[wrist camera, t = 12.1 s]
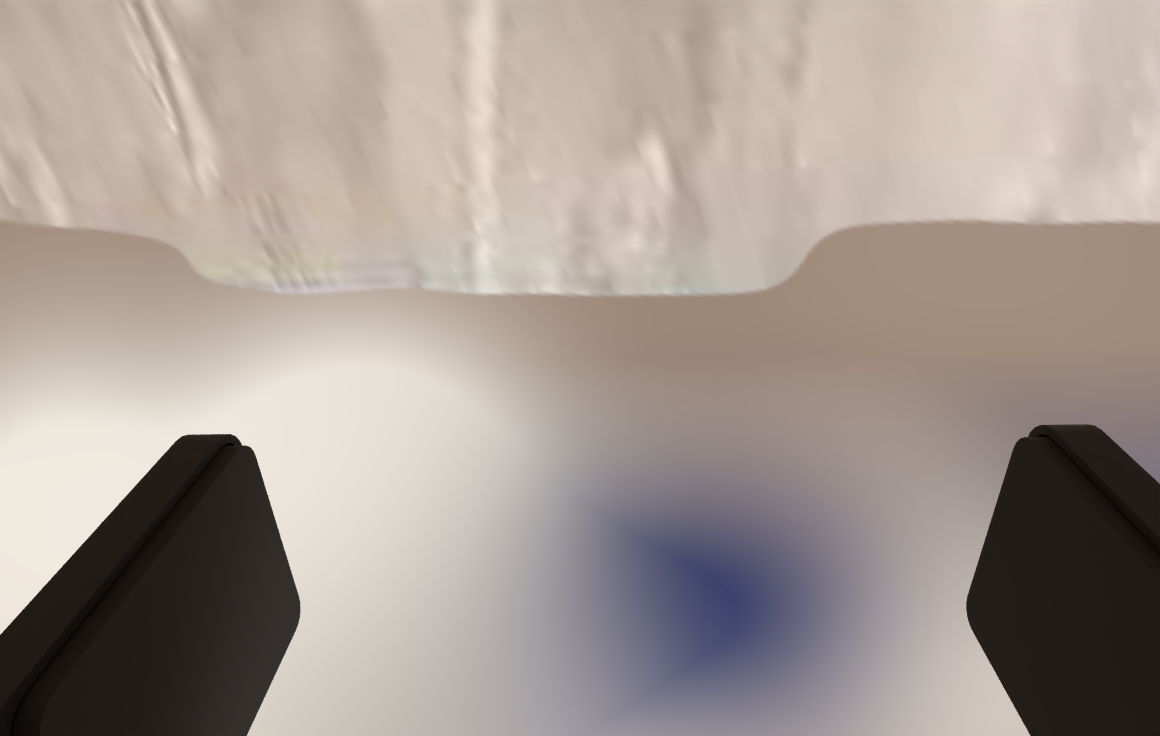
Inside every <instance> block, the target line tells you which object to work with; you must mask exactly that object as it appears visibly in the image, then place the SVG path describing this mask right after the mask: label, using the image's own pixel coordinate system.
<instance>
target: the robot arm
mask: <svg viewBox="0 0 1160 736" xmlns="http://www.w3.org/2000/svg"><path fill="white" fill-rule="evenodd" d="M966 606H967V607H966V610H967V617H968V621H969V624H970V626H971V629H972V631H973V632H974V634H975V636H976V638H977V640H978V642H979V643H980V645H981V647H982V649H983V651H984V653H985V654H986V656H987V658H988V660H989V662H990V663H991V665H992V667H993V669H994V671H995V672H996V674H997V676H998V678H999V680H1000V681H1001V683H1002V685H1003V687H1004V689H1005V690H1006V692H1007V694H1008V696H1009V697H1010V699H1011V701H1012V702H1013V705H1014V707H1015V708H1016V710H1017V712H1018V714H1019V716H1020V717H1021V719H1022V721H1023V723H1024V725H1025V726H1026V728H1027V730H1028V732H1029V734H1030V735H1031V736H1160V484H1159V483H1158V482H1157V481H1156V480H1155V479H1154V478H1153V477H1152V476H1151V475H1149V474H1148V473H1147V472H1146V471H1145V470H1144V469H1143V468H1142V467H1141V466H1140V465H1138V464H1137V463H1136V462H1135V461H1134V460H1133V459H1132V458H1131V457H1130V456H1129V455H1128V454H1127V453H1126V452H1125V451H1124V450H1122V449H1121V448H1120V447H1119V446H1118V445H1117V444H1116V443H1115V442H1114V441H1113V440H1112V439H1111V438H1110V437H1109V436H1108V435H1106V434H1105V433H1104V432H1103V431H1102V430H1101V429H1099V428H1097V427H1096V426H1093V425H1087V424H1086V425H1040V426H1037V427H1035V428H1034V429H1033V430H1032V431H1031V432H1030V434H1029V436H1028V437H1024V438H1021V439H1019V440H1018V441H1017V442H1016V444H1015V447H1014V449H1013V452H1012V455H1011V458H1010V461H1009V465H1008V468H1007V471H1006V474H1005V478H1004V481H1003V484H1002V487H1001V490H1000V494H999V497H998V500H997V504H996V507H995V510H994V513H993V517H992V519H991V523H990V526H989V529H988V532H987V536H986V539H985V542H984V545H983V548H982V551H981V555H980V558H979V561H978V564H977V567H976V571H975V574H974V577H973V580H972V584H971V587H970V590H969V593H968V596H967V603H966ZM299 618H300V600H299V596H298V592H297V589H296V586H295V583H294V579H293V576H292V573H291V570H290V567H289V563H288V560H287V556H286V553H285V550H284V547H283V543H282V540H281V538H280V534H279V530H278V528H277V524H276V521H275V517H274V514H273V511H272V508H271V505H270V501H269V498H268V495H267V492H266V488H265V485H264V482H263V478H262V475H261V472H260V469H259V466H258V462H257V459H256V456H255V454H254V451H253V450H252V449H251V448H250V447H248V446H242V444H241V442H240V441H239V440H238V438H236V436H233V435H231V434H211V435H185V436H182V437H181V438H179V439H178V440H177V441H176V442H175V443H174V444H173V445H172V446H171V447H170V448H169V450H168V451H167V452H166V453H165V454H164V455H163V456H162V457H161V458H160V459H159V460H158V462H157V463H156V464H155V465H154V466H153V467H152V468H151V469H150V470H149V472H148V473H147V474H146V475H145V476H144V477H143V478H142V479H141V480H140V481H139V483H138V484H137V485H136V486H135V487H134V488H133V489H132V490H131V491H130V492H129V494H128V495H127V496H126V497H125V498H124V499H123V500H122V501H121V502H120V504H119V505H118V506H117V507H116V508H115V509H114V510H113V511H112V512H111V514H110V515H109V516H108V517H107V518H106V519H105V520H104V521H103V522H102V523H101V524H100V526H99V527H98V528H97V529H96V530H95V531H94V532H93V533H92V534H91V536H90V537H89V538H88V539H87V540H86V541H85V542H84V543H83V544H82V546H81V547H80V548H79V549H78V550H77V551H76V552H75V553H74V554H73V555H72V557H71V558H70V559H69V560H68V561H67V562H66V563H65V564H64V565H63V566H62V568H61V569H60V570H59V571H58V572H57V573H56V574H55V575H54V576H53V577H52V579H51V580H50V581H49V582H48V583H47V584H46V585H45V586H44V587H43V588H42V590H41V591H40V592H39V593H38V594H37V595H36V596H35V597H34V599H32V601H31V602H30V603H29V604H28V605H27V606H26V607H25V609H23V610H22V612H21V613H20V614H19V615H18V616H17V617H16V618H15V619H14V620H13V622H12V623H11V624H10V625H9V626H8V627H7V628H6V629H5V630H4V631H3V633H2V634H1V635H0V736H247V734H248V732H249V729H250V727H251V725H252V723H253V721H254V719H255V717H256V714H257V712H258V710H259V708H260V706H261V704H262V702H263V699H264V697H265V695H266V693H267V691H268V689H269V686H270V684H271V682H272V680H273V678H274V676H275V674H276V672H277V669H278V667H279V665H280V663H281V661H282V659H283V656H284V655H285V652H286V650H287V648H288V646H289V644H290V642H291V640H292V637H293V635H294V633H295V631H296V628H297V626H298V622H299Z"/></svg>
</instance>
